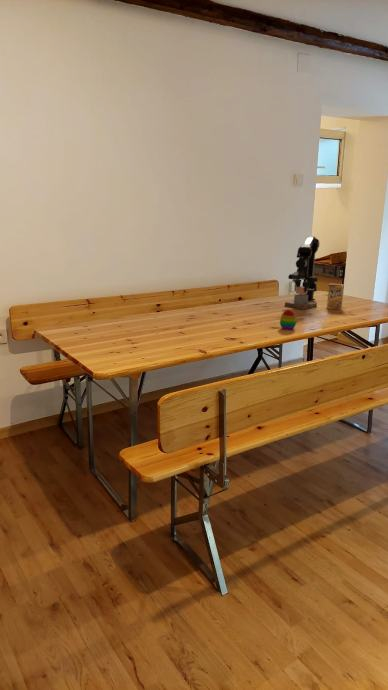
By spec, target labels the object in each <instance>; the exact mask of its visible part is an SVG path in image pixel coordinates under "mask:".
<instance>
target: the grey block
mask: <svg viewBox="0 0 388 690" xmlns="http://www.w3.org/2000/svg"><path fill="white" fill-rule="evenodd" d="M293 301H294V303H299V304H305V303H308V302H309V301H308V295H305V294H297V293H295V294H294V300H293Z"/></svg>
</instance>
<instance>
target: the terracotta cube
mask: <svg viewBox="0 0 388 690" xmlns="http://www.w3.org/2000/svg"><path fill="white" fill-rule="evenodd" d="M295 294H307V291H306V292H304V287H303V286H302V285H300V286H299V287H296V286H295Z"/></svg>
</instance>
